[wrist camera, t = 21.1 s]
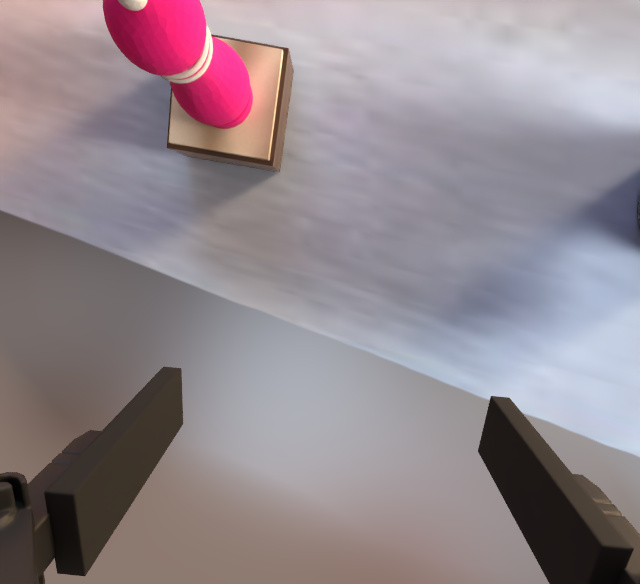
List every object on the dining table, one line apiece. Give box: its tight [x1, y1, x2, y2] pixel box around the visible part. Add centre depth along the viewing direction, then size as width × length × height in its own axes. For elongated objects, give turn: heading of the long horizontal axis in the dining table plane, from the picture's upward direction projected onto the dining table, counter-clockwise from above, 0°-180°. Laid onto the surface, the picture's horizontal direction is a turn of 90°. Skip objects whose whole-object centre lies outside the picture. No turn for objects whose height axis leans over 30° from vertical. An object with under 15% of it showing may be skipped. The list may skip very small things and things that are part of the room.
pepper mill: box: [103, 0, 253, 129], centre depth 29 cm, size 7×7×20 cm
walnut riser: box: [167, 34, 293, 172], centre depth 42 cm, size 12×12×7 cm
